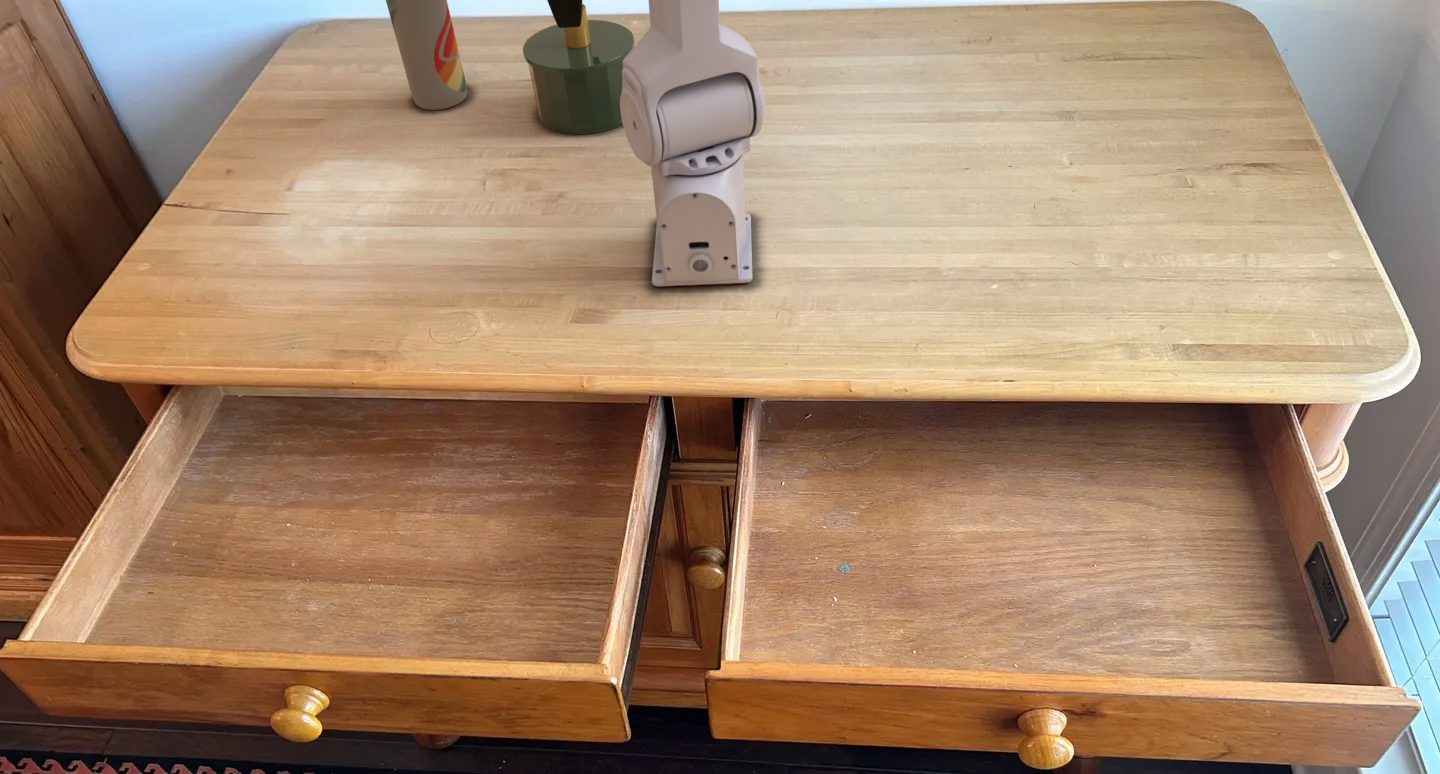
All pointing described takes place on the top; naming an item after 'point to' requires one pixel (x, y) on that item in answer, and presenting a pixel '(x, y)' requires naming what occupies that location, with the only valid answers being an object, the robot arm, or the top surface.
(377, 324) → the top surface
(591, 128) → the pot
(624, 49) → the lid
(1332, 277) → the top surface
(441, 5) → the spray bottle
